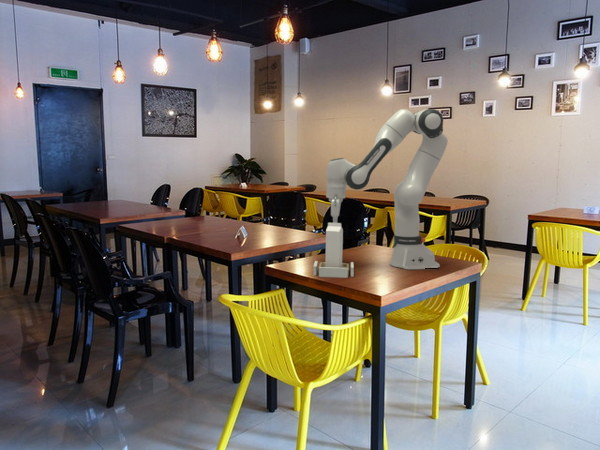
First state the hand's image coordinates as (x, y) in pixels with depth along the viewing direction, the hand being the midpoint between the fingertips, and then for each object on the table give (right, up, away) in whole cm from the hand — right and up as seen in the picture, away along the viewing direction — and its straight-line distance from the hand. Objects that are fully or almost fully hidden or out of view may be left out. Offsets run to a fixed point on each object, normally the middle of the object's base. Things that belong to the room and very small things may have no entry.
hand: (335, 223), depth 226 cm
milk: (-2, -22, -12) cm, 25 cm away
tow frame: (-1, -20, -7) cm, 22 cm away
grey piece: (-2, -21, -13) cm, 25 cm away
